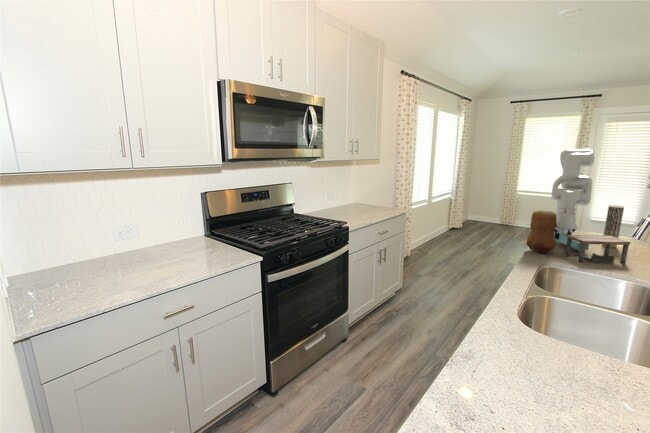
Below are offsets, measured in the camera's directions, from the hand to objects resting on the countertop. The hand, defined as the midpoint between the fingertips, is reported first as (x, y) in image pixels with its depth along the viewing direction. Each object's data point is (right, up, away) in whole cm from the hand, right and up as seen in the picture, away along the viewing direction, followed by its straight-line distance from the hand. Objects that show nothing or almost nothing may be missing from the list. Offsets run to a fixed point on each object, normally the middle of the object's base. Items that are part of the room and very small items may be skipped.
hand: (562, 238), depth 193 cm
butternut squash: (-24, -7, -14) cm, 29 cm away
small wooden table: (-3, -9, -26) cm, 27 cm away
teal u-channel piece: (-1, -3, -7) cm, 7 cm away
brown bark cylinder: (+26, -4, -4) cm, 26 cm away
